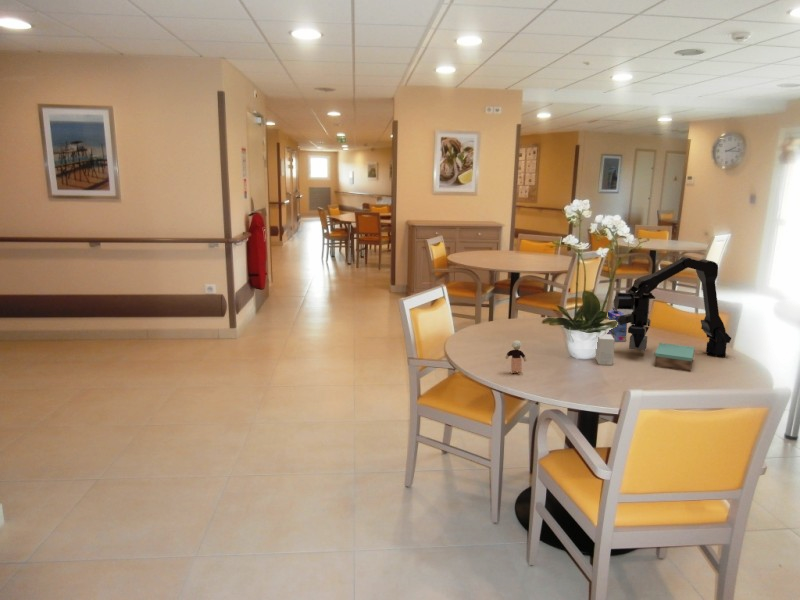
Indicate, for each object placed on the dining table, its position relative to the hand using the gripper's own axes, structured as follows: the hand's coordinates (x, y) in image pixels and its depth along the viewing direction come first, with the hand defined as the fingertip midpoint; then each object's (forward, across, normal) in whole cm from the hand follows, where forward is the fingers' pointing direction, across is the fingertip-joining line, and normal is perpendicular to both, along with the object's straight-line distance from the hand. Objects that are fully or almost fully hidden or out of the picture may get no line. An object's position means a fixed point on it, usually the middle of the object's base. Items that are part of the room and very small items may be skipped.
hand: (637, 345), depth 219 cm
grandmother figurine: (+4, +47, -36) cm, 59 cm away
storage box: (+4, +5, +14) cm, 15 cm away
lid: (0, +5, +14) cm, 15 cm away
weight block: (+1, 0, 0) cm, 1 cm away
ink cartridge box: (+4, -20, -12) cm, 24 cm away
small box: (+4, +17, -10) cm, 20 cm away
